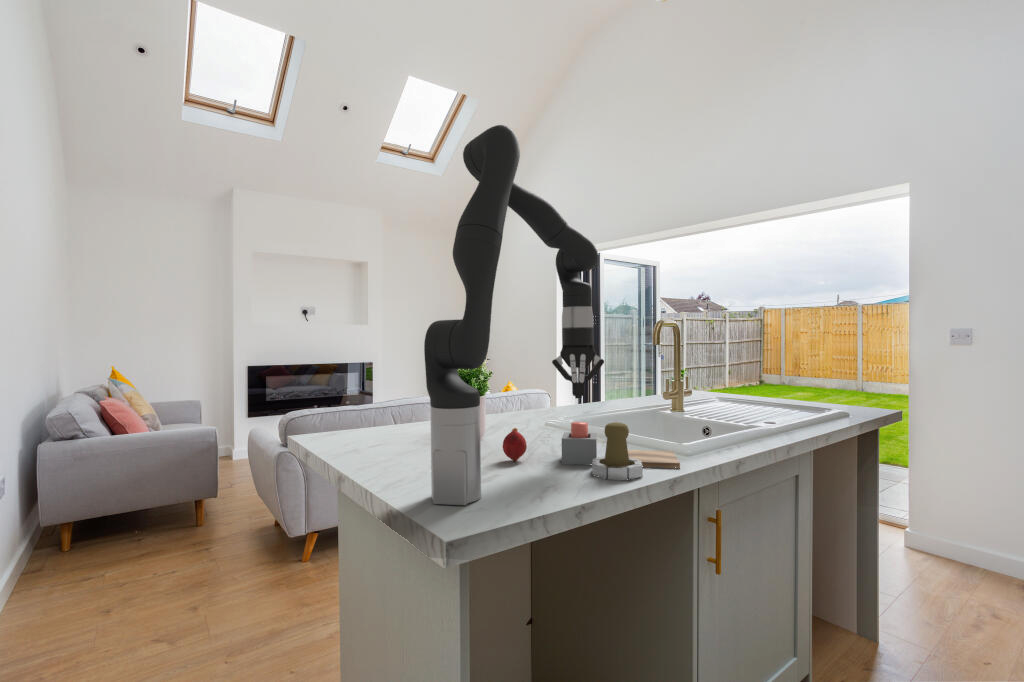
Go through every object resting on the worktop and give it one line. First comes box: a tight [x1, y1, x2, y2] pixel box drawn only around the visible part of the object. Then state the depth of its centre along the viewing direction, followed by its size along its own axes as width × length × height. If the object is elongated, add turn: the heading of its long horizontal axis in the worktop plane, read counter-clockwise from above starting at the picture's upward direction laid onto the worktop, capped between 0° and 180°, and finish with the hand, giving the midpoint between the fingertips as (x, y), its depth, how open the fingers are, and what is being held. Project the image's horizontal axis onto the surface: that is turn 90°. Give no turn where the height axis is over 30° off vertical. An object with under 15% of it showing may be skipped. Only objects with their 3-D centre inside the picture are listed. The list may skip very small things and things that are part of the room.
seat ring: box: [591, 455, 644, 481], centre depth 110 cm, size 10×10×2 cm
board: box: [628, 449, 681, 469], centre depth 120 cm, size 12×12×1 cm
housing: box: [561, 431, 598, 465], centre depth 121 cm, size 8×8×6 cm
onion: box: [502, 427, 528, 462], centre depth 122 cm, size 6×6×8 cm
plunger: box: [570, 421, 589, 438], centre depth 121 cm, size 4×4×6 cm
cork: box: [604, 421, 630, 467], centre depth 110 cm, size 6×6×11 cm
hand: (578, 397), depth 122 cm, fingers closed
